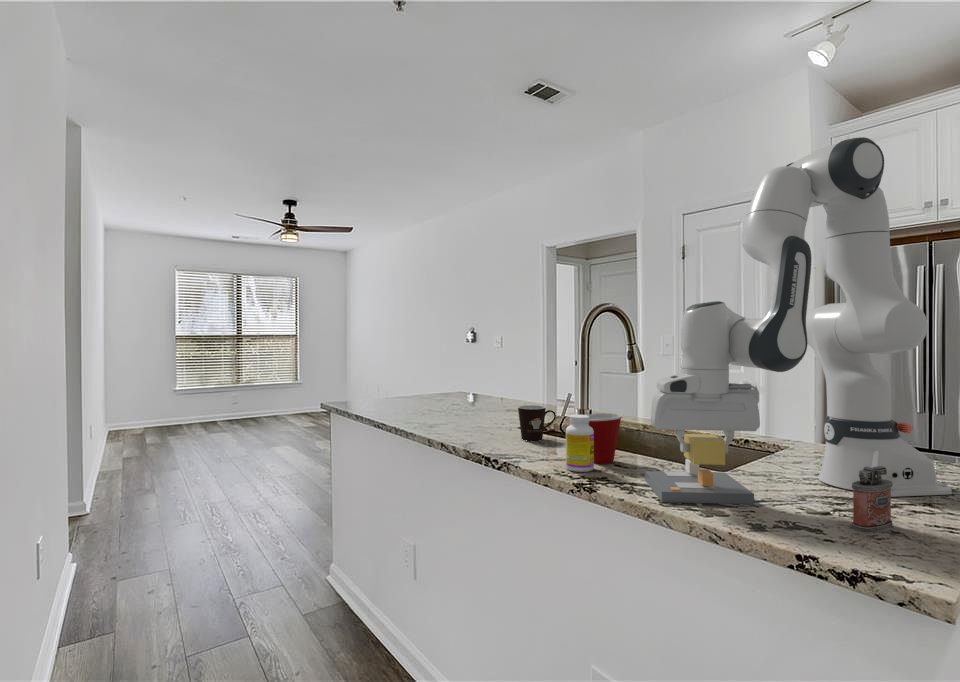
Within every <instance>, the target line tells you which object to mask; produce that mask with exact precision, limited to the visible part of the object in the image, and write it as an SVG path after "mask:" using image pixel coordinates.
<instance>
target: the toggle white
mask: <svg viewBox="0 0 960 682" xmlns="http://www.w3.org/2000/svg"><path fill="white" fill-rule="evenodd" d="M684 465H685V466H684V467H685V472H688V473H689V474H698V469H700V464H693V463H692V462H691V461H689V460H688V459H687V458H685V464H684Z"/></svg>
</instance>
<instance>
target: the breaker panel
mask: <svg viewBox="0 0 960 682" xmlns="http://www.w3.org/2000/svg"><path fill="white" fill-rule="evenodd" d="M711 472H712V471H711ZM712 473H713V486H702V485H701V484H700V483H699V482H698V474H689V473H688V472H687V471H675V470H674V471H671V470H670V471H665V470H663V471H660V470H659V471H653V470H652V471H651V470H650V471H649V470H645V471H644V480H645V482H646V483H647V485H648V486H649V487H650V488H651V490H652V491H653V493H654V494H655V495H656V497H657V498H658V499H659V500H660V501H661V503H683V504H684V503H687V504H688V503H689V504H724V505H725V504H727V505H728V504H730V505H731V504H732V505H733V504H734V505H736V504H737V505H755V493H754V492H752V491H751V490H750V489H748V488H747V487H746V486H744V485H743V484H741V483H740V482H738V481H737V480H735V479H734V478H733V477H731V476H730V475H729V474H727V473H726V472H712Z"/></svg>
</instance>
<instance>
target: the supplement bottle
mask: <svg viewBox="0 0 960 682" xmlns="http://www.w3.org/2000/svg"><path fill="white" fill-rule="evenodd" d="M587 415H588V414H571V415H570V416H569V423H570V424H569V425H568V426H567V427H566V429H565V468H566V469H567V470H569V471H571V472H575V473H588V472H592V471H593V470H594V469H595V463H594V431H593V428H592V427H590V426H589V421H590V417H589V416H587Z"/></svg>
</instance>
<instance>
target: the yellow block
mask: <svg viewBox="0 0 960 682" xmlns="http://www.w3.org/2000/svg"><path fill="white" fill-rule="evenodd" d="M683 436H684V437H683V439H684V441H685V442H688V443H689V444H690V448H689V449H690V452H683V457H684V458H685V459H688V460H689V461H691V462H692V463H693V464H699V465H714V466H721V465H722V466H726V453H725V441H724V440H723V438H720V437H719V436H717V435H715V434H705V433H703V434H702V433H701V434H699V433H685V435H683Z"/></svg>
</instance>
